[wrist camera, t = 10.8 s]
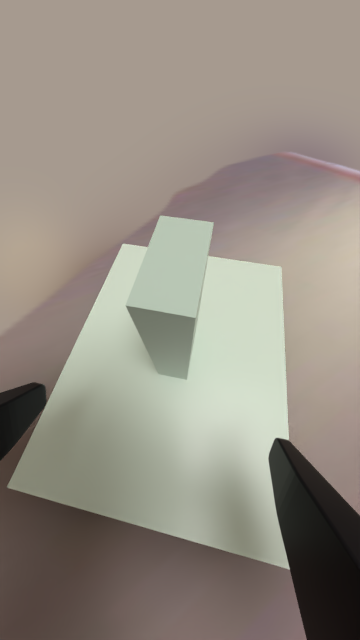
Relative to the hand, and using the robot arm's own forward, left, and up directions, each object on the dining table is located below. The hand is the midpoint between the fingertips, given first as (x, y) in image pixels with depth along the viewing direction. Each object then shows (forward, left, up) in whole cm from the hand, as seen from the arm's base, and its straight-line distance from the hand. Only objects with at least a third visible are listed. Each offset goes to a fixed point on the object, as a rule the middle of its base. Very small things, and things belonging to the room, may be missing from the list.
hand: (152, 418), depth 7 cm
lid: (0, +5, -6) cm, 8 cm away
